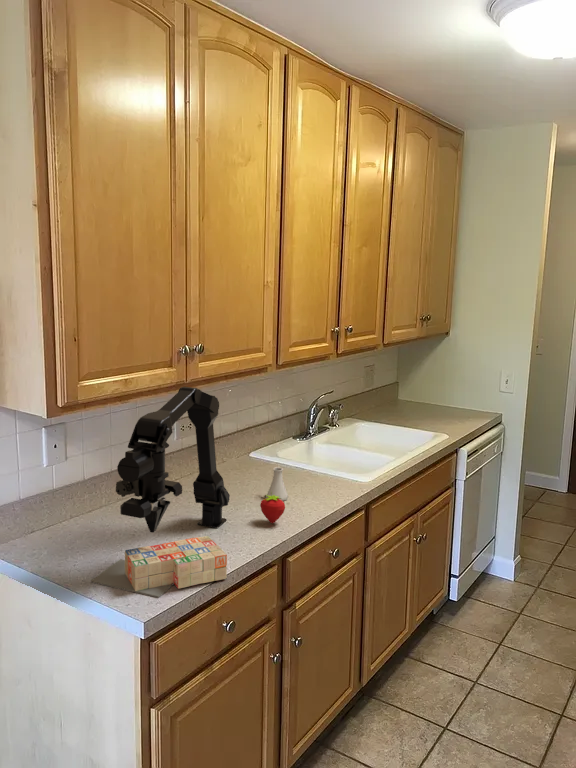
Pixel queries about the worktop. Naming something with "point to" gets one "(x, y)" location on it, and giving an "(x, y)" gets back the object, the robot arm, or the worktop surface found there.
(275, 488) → the flask
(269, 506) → the strawberry
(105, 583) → the mat
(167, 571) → the stack of blocks
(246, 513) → the worktop surface
